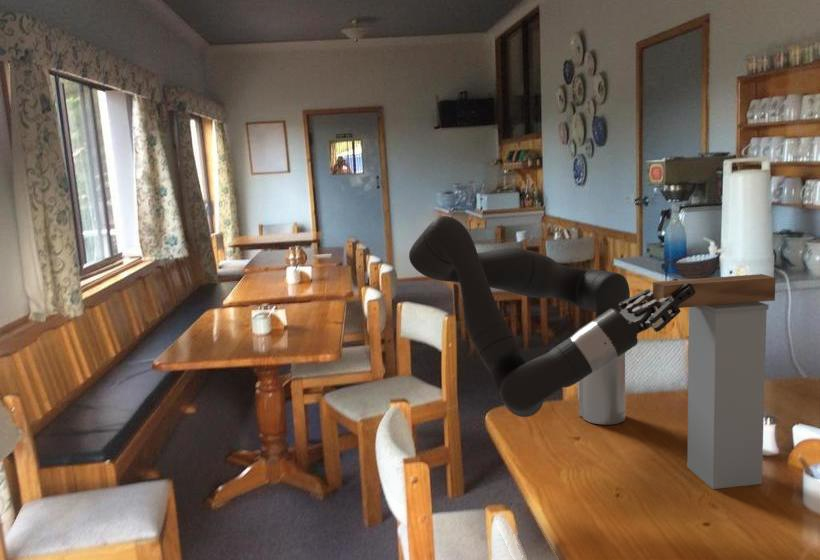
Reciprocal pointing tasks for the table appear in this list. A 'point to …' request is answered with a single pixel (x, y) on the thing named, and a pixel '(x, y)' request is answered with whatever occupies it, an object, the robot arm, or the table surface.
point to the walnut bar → (721, 290)
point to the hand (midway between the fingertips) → (685, 285)
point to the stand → (726, 393)
